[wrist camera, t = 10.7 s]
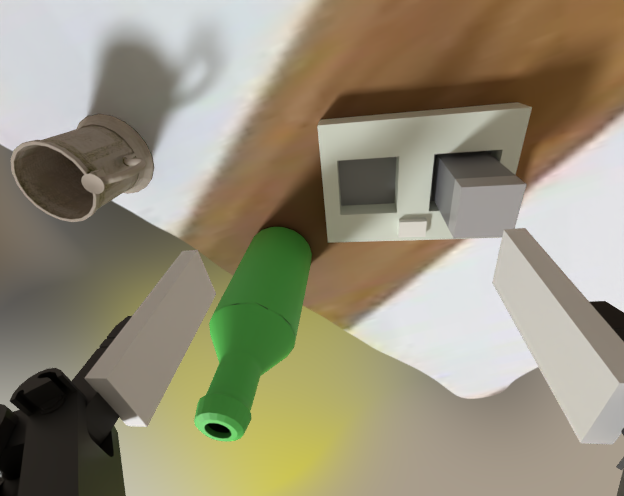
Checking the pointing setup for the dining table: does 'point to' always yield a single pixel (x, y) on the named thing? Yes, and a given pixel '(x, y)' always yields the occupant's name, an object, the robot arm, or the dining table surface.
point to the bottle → (254, 328)
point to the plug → (476, 194)
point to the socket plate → (405, 166)
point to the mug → (82, 167)
